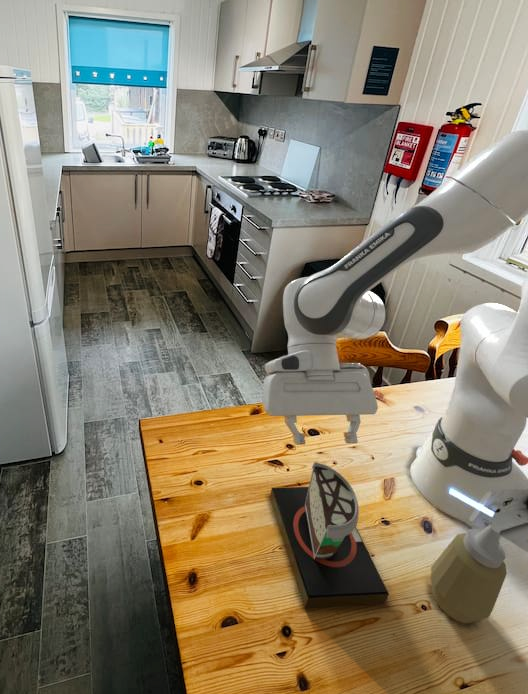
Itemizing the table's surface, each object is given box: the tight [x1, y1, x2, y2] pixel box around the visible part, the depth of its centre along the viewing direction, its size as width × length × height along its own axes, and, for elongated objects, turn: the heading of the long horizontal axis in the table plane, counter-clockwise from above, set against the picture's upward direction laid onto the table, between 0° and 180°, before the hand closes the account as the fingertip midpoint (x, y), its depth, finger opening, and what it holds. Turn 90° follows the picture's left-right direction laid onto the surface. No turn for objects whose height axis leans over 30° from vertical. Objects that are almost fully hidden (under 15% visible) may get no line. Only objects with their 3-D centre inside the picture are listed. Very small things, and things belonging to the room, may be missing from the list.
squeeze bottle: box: [430, 524, 508, 624], centre depth 59 cm, size 8×8×18 cm
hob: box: [269, 486, 390, 609], centre depth 69 cm, size 13×18×3 cm
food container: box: [305, 461, 360, 560], centre depth 66 cm, size 12×6×10 cm, turn 171°
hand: (325, 443), depth 69 cm, fingers open, 8 cm apart
